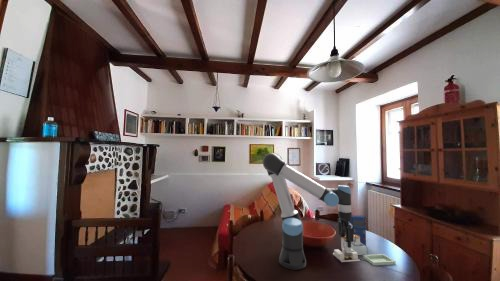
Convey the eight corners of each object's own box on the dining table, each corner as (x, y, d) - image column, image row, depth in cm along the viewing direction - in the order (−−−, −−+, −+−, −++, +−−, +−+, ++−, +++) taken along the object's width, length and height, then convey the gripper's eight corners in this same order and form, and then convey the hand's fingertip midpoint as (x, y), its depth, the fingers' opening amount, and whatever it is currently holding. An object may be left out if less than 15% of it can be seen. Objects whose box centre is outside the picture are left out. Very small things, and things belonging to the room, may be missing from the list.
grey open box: (354, 256, 126) (354, 246, 127) (346, 250, 134) (346, 241, 135) (366, 255, 127) (366, 246, 127) (358, 249, 135) (358, 240, 136)
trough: (373, 266, 114) (373, 262, 115) (363, 258, 123) (363, 255, 123) (395, 265, 116) (395, 261, 116) (384, 257, 125) (383, 254, 125)
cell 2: (355, 253, 128) (354, 236, 129) (351, 250, 133) (350, 233, 133) (361, 253, 129) (361, 236, 130) (357, 250, 133) (357, 233, 134)
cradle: (341, 262, 118) (341, 254, 118) (332, 254, 128) (332, 247, 128) (360, 262, 119) (359, 253, 120) (349, 254, 129) (349, 246, 129)
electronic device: (352, 247, 139) (352, 216, 141) (349, 243, 144) (348, 214, 146) (366, 247, 139) (366, 217, 140) (362, 244, 144) (362, 215, 145)
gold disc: (344, 259, 121) (344, 256, 122) (341, 256, 125) (341, 253, 125) (350, 258, 122) (350, 256, 122) (346, 255, 125) (346, 253, 126)
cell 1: (345, 256, 121) (344, 238, 122) (340, 253, 125) (340, 235, 126) (351, 256, 122) (351, 237, 122) (347, 252, 126) (346, 235, 127)
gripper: (359, 214, 117) (361, 257, 116) (342, 207, 135) (343, 244, 133) (347, 215, 116) (348, 258, 115) (331, 207, 134) (332, 244, 132)
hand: (346, 250), depth 124 cm, fingers closed on cell 1, 4 cm apart
